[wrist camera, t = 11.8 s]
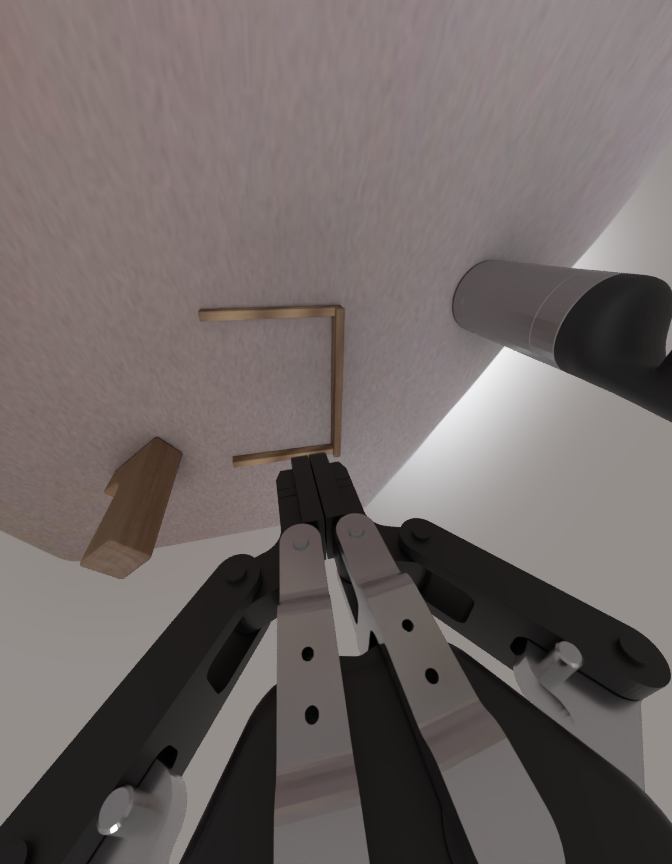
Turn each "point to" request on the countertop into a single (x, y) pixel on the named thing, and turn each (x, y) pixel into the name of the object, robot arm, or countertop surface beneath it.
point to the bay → (337, 371)
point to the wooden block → (134, 511)
